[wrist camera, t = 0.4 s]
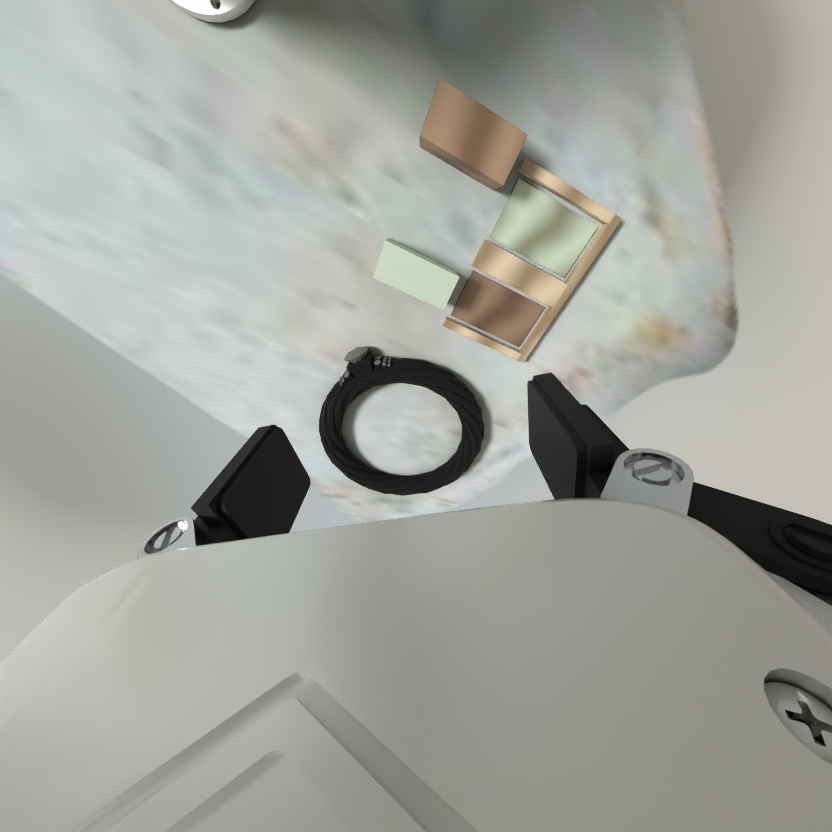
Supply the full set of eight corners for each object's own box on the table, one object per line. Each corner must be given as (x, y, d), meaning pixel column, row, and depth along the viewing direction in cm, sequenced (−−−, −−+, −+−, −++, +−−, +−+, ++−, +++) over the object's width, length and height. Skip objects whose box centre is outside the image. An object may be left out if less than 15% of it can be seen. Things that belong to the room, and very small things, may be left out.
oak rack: (442, 323, 41) (443, 326, 40) (522, 159, 32) (526, 157, 31) (520, 359, 44) (523, 362, 43) (616, 218, 34) (622, 218, 33)
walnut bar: (419, 147, 31) (419, 135, 27) (436, 97, 29) (439, 76, 25) (492, 190, 33) (503, 185, 29) (513, 146, 31) (527, 135, 27)
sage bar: (378, 271, 38) (372, 277, 34) (389, 238, 36) (385, 240, 32) (441, 301, 40) (443, 310, 35) (455, 271, 38) (459, 277, 33)
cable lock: (366, 514, 58) (269, 390, 43) (368, 499, 62) (280, 378, 46) (504, 476, 52) (448, 316, 37) (499, 461, 55) (446, 309, 40)
